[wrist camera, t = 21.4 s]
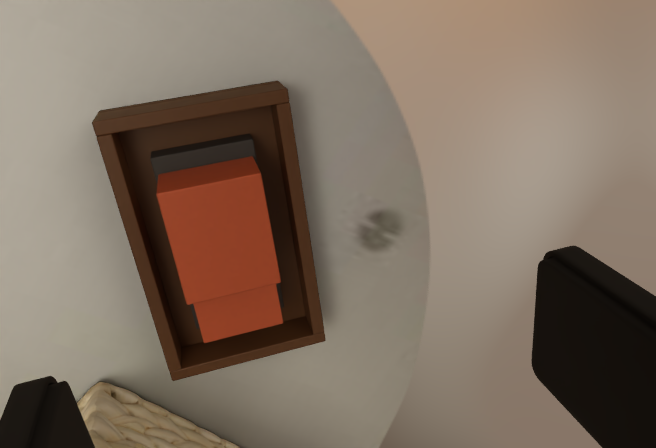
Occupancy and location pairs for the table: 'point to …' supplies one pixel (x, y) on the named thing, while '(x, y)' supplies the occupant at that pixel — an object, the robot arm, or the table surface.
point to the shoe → (220, 234)
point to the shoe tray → (150, 233)
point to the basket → (139, 422)
